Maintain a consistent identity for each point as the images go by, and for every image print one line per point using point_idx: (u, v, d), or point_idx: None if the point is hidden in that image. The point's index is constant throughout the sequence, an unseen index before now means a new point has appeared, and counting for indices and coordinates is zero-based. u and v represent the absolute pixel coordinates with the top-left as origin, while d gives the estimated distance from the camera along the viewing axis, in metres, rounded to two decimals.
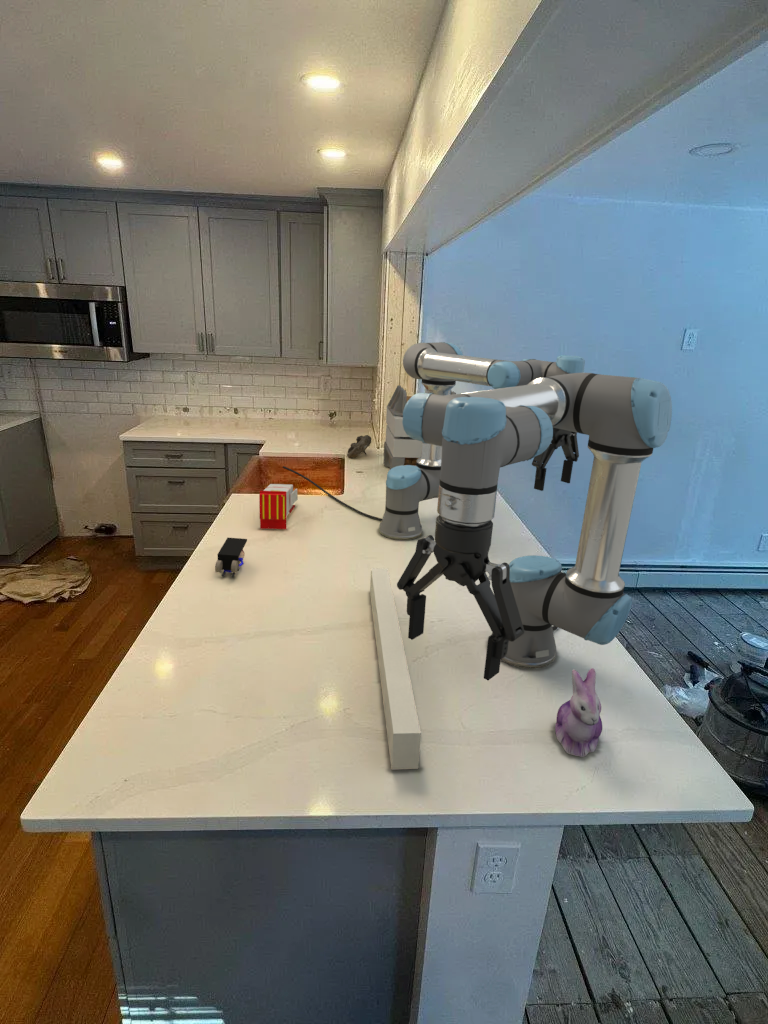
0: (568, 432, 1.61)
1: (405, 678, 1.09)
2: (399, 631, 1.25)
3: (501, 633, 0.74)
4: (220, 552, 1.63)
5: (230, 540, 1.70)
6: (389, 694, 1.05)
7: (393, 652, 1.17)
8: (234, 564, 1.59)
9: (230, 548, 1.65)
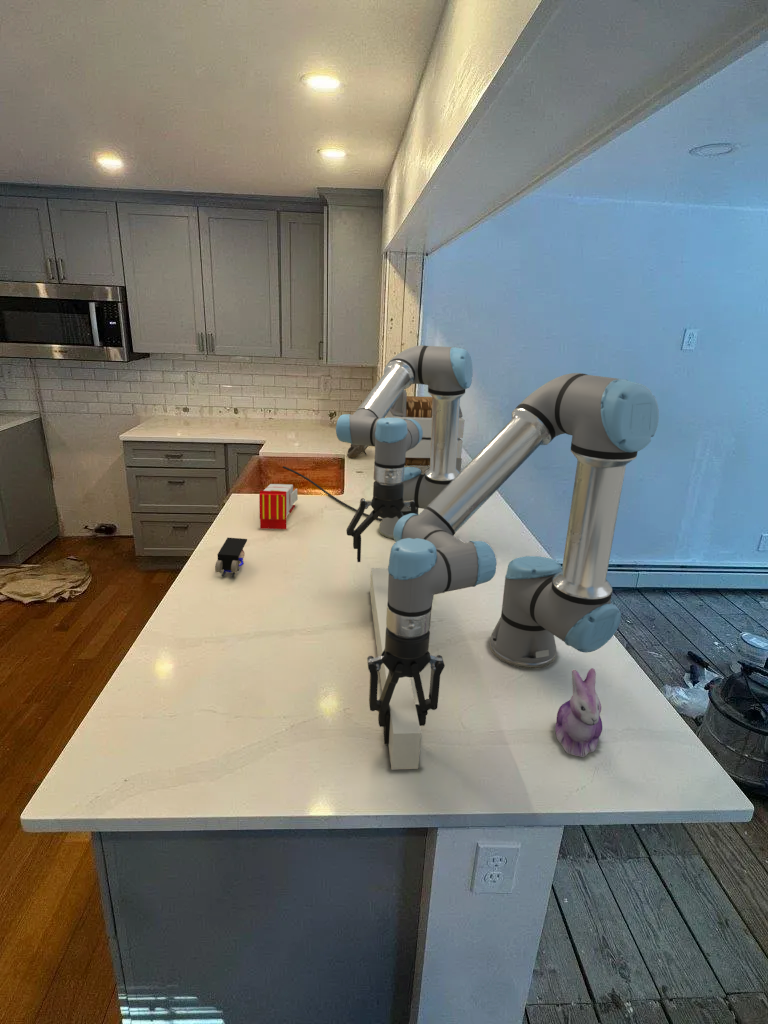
0: (397, 504, 1.41)
1: (406, 678, 1.09)
2: None
3: (426, 708, 1.01)
4: (220, 552, 1.63)
5: (230, 540, 1.70)
6: None
7: None
8: (234, 564, 1.59)
9: (230, 548, 1.65)
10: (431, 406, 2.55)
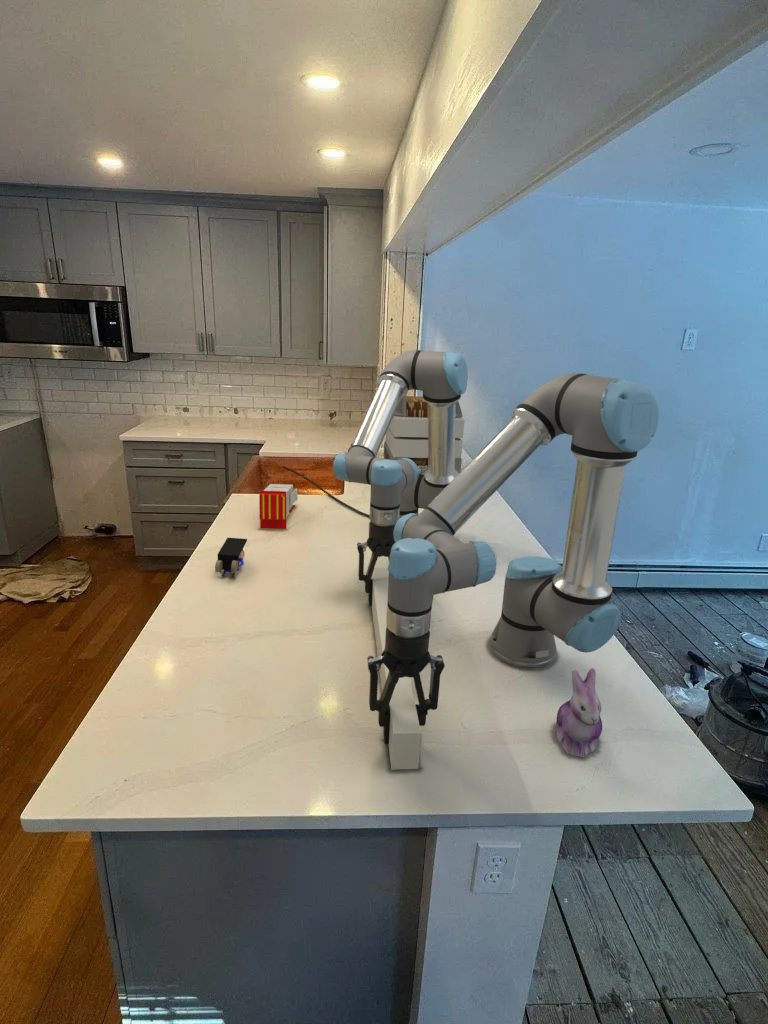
0: (393, 542, 1.44)
1: (406, 678, 1.09)
2: None
3: (426, 708, 1.01)
4: (220, 552, 1.63)
5: (230, 540, 1.70)
6: None
7: None
8: (234, 564, 1.59)
9: (230, 548, 1.65)
10: None
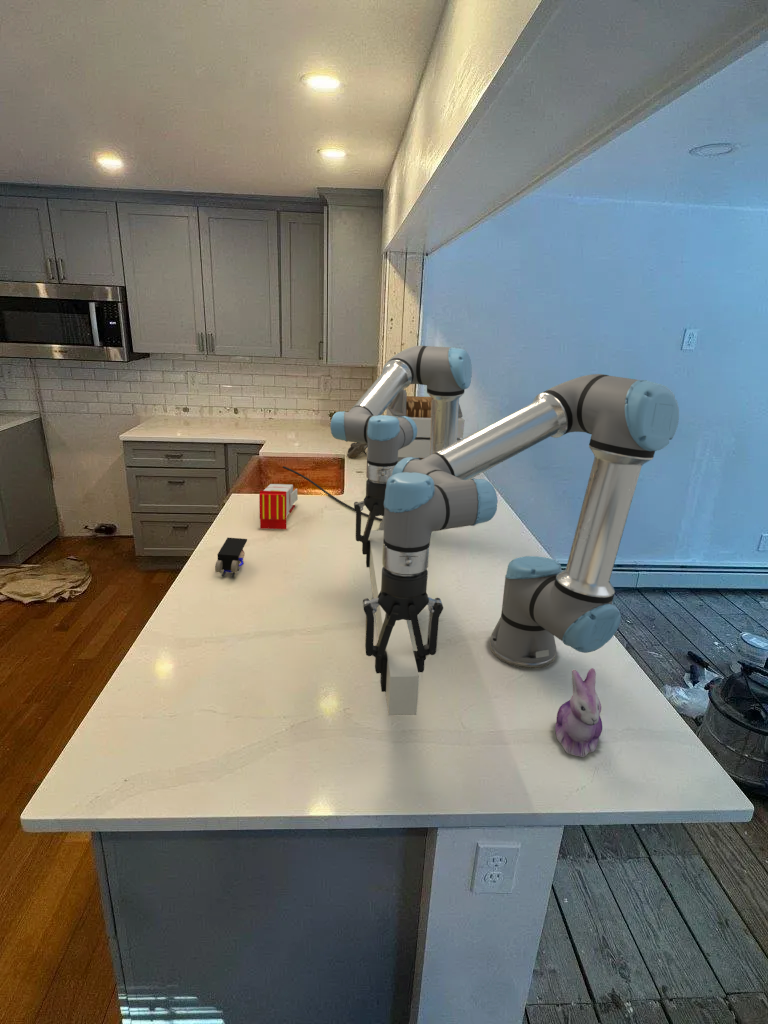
0: None
1: (403, 627, 1.06)
2: None
3: (425, 653, 0.97)
4: (220, 552, 1.63)
5: (230, 540, 1.70)
6: None
7: None
8: (234, 564, 1.59)
9: (230, 548, 1.65)
10: None
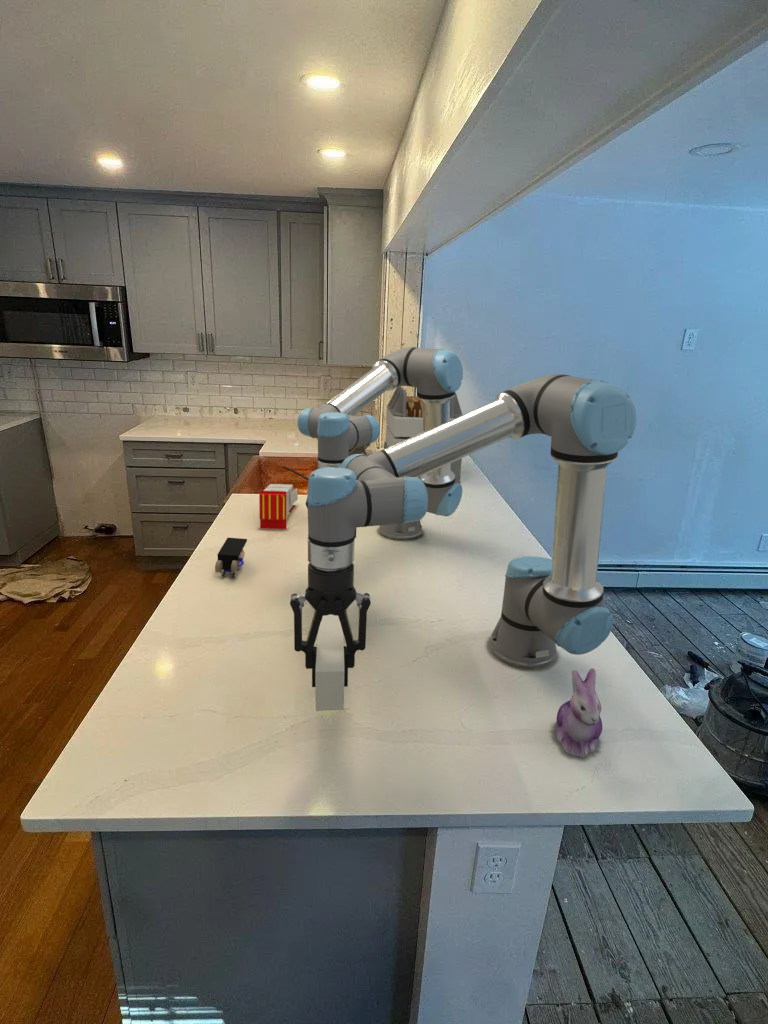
0: None
1: (339, 623, 1.06)
2: None
3: (354, 649, 0.97)
4: (220, 552, 1.63)
5: (230, 540, 1.70)
6: (318, 637, 1.01)
7: None
8: (234, 564, 1.59)
9: (230, 548, 1.65)
10: None
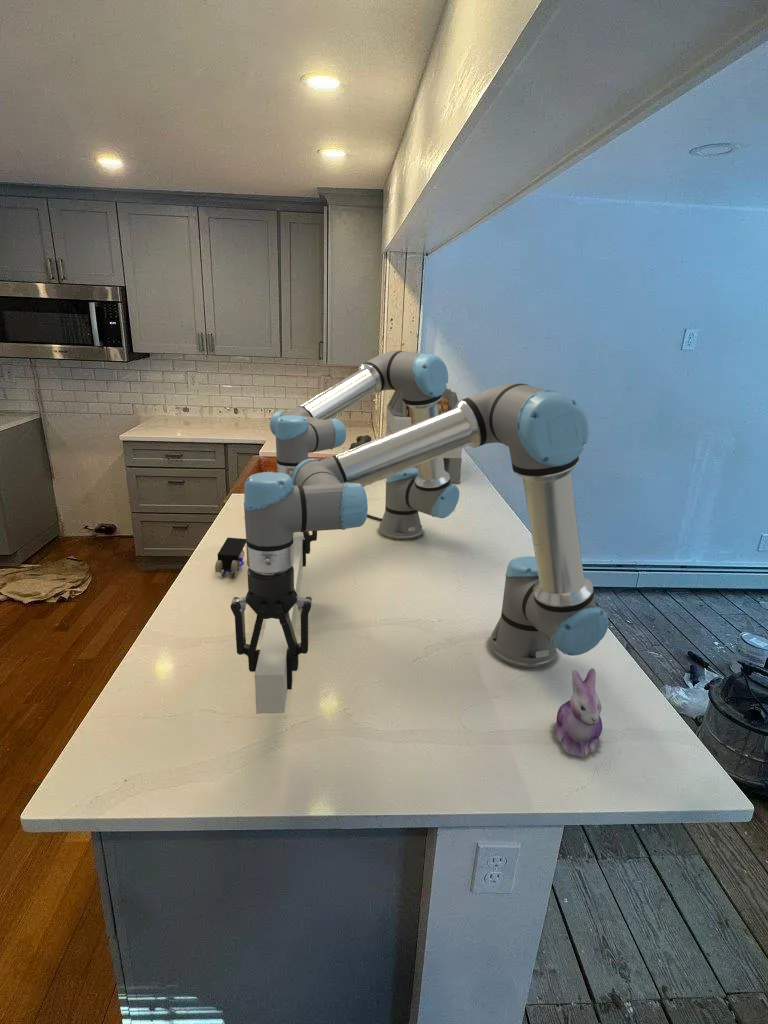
0: None
1: None
2: (294, 585, 1.22)
3: (297, 652, 0.98)
4: (220, 552, 1.63)
5: (230, 540, 1.70)
6: (263, 640, 1.02)
7: None
8: (234, 564, 1.59)
9: (230, 548, 1.65)
10: None
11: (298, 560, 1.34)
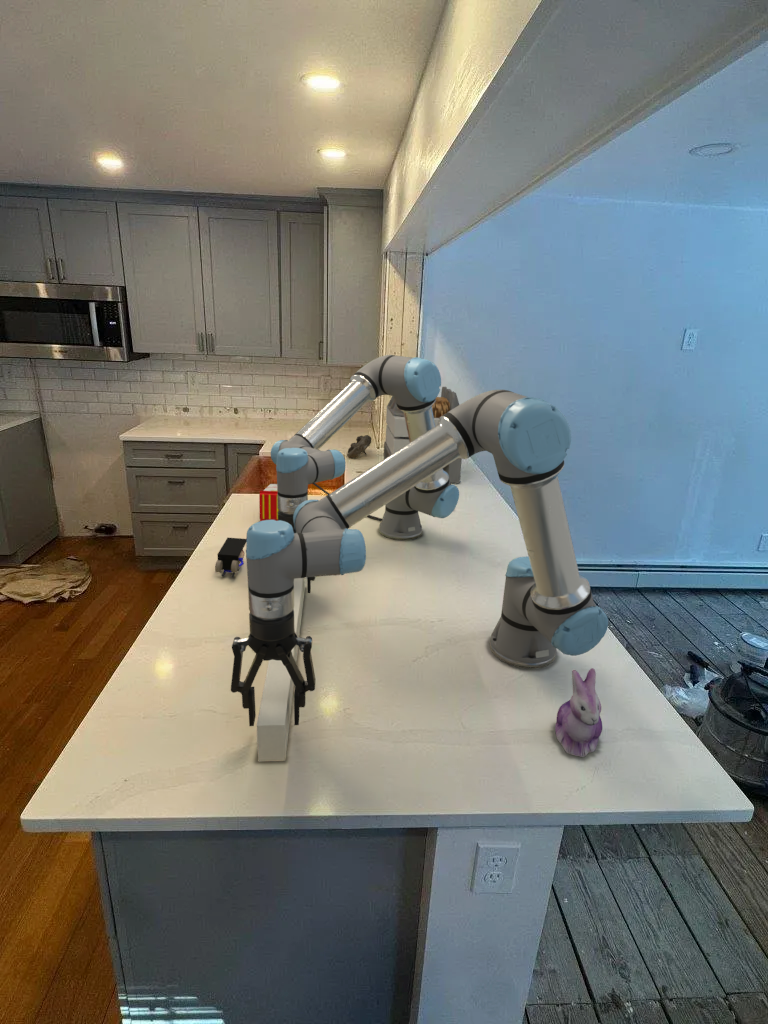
0: None
1: (287, 671, 1.10)
2: (295, 625, 1.26)
3: (304, 689, 1.01)
4: (220, 552, 1.63)
5: (230, 540, 1.70)
6: (265, 687, 1.05)
7: None
8: (234, 564, 1.59)
9: (230, 548, 1.65)
10: None
11: (299, 597, 1.37)
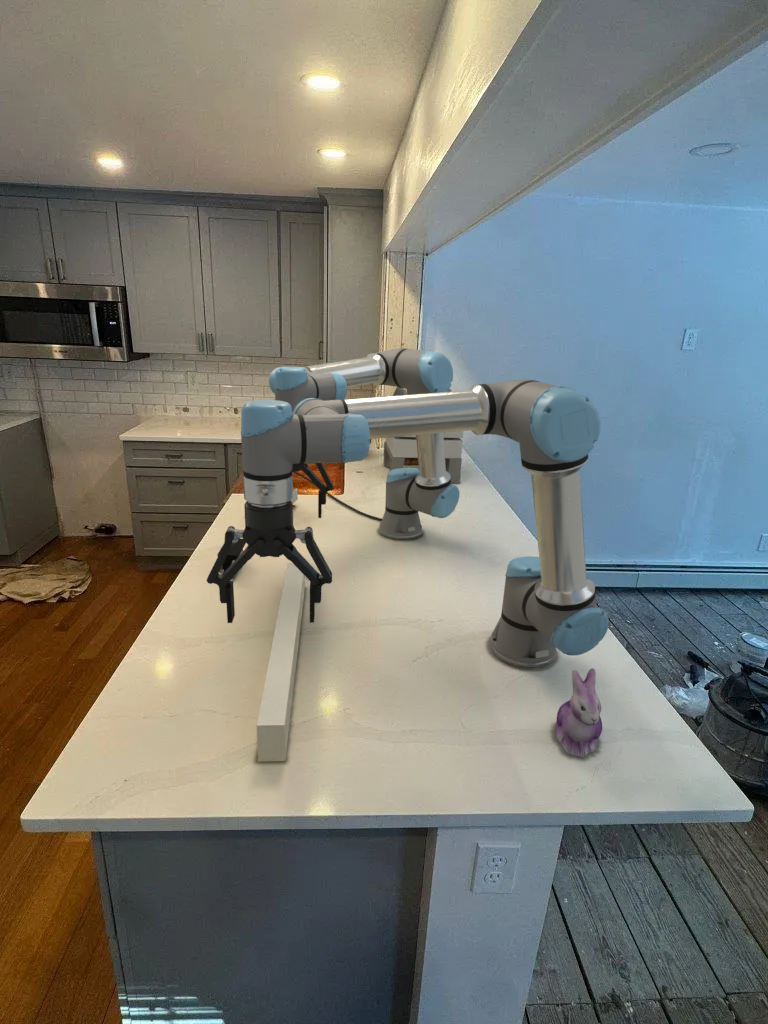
0: None
1: (286, 671, 1.10)
2: (295, 625, 1.26)
3: (319, 581, 0.94)
4: None
5: None
6: (265, 687, 1.05)
7: (282, 646, 1.18)
8: None
9: None
10: None
11: (299, 597, 1.37)
